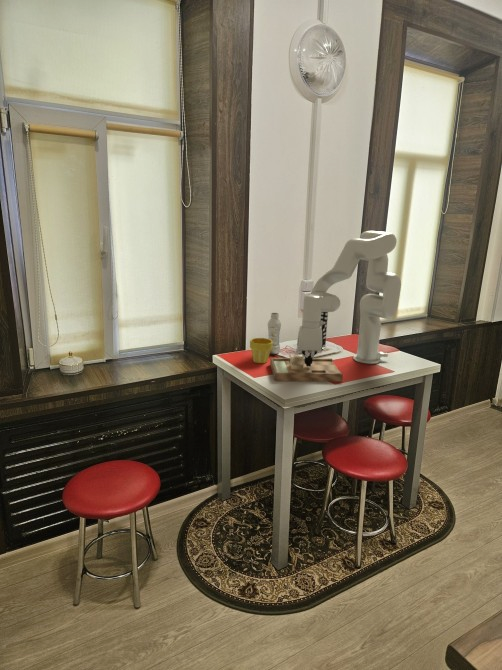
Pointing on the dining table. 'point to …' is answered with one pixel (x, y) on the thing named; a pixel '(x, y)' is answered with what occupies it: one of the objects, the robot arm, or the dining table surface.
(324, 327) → the spotted tube
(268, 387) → the dining table surface
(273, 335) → the plastic bottle
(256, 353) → the plant pot
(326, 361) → the box
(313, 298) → the robot arm
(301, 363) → the block
